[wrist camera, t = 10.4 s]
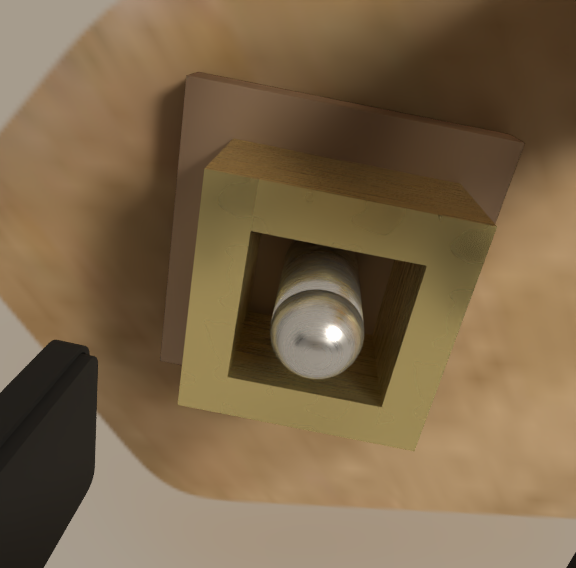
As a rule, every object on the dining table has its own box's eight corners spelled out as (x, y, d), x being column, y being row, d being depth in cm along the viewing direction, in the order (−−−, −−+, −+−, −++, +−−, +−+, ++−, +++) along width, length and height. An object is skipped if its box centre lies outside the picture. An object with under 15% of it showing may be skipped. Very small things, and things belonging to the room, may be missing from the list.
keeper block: (509, 134, 17) (616, 195, 11) (420, 388, 21) (457, 542, 15) (198, 72, 17) (115, 95, 10) (171, 339, 21) (100, 472, 15)
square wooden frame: (460, 183, 16) (497, 226, 13) (399, 372, 19) (414, 451, 16) (233, 138, 16) (204, 168, 13) (207, 334, 19) (177, 404, 16)
